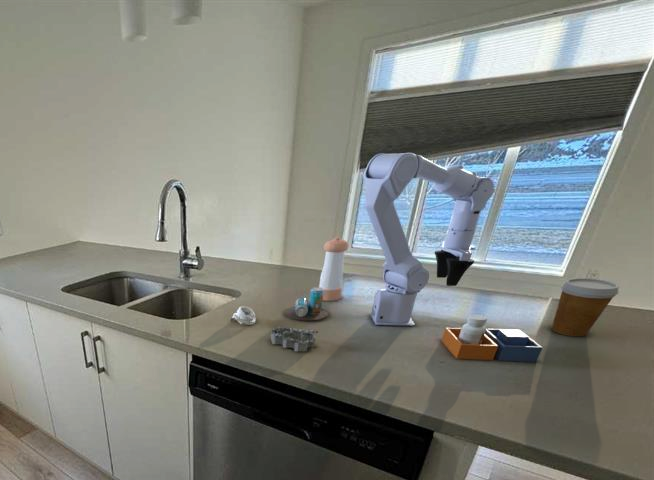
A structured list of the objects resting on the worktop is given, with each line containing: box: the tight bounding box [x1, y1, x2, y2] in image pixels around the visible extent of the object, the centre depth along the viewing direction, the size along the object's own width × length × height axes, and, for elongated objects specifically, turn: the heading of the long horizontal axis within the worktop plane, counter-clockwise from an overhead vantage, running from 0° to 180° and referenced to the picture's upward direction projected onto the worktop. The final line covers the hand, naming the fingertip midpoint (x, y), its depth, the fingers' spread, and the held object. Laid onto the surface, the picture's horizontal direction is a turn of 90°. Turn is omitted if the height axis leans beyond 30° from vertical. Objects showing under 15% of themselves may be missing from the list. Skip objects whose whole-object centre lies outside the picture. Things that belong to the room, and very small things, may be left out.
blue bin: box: [485, 328, 543, 363], centre depth 92 cm, size 7×10×4 cm
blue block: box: [496, 329, 530, 346], centre depth 92 cm, size 4×4×4 cm
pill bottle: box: [458, 314, 488, 345], centre depth 93 cm, size 4×4×8 cm
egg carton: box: [269, 325, 319, 353], centre depth 105 cm, size 11×8×4 cm
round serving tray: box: [285, 286, 329, 323], centre depth 121 cm, size 12×12×8 cm
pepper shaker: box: [317, 236, 350, 302], centre depth 129 cm, size 7×7×19 cm
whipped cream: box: [230, 305, 256, 326], centre depth 121 cm, size 8×7×5 cm
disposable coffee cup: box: [551, 277, 620, 337], centre depth 96 cm, size 10×10×12 cm
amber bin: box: [441, 327, 498, 361], centre depth 95 cm, size 7×10×4 cm
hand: (446, 281), depth 110 cm, fingers open, 7 cm apart
